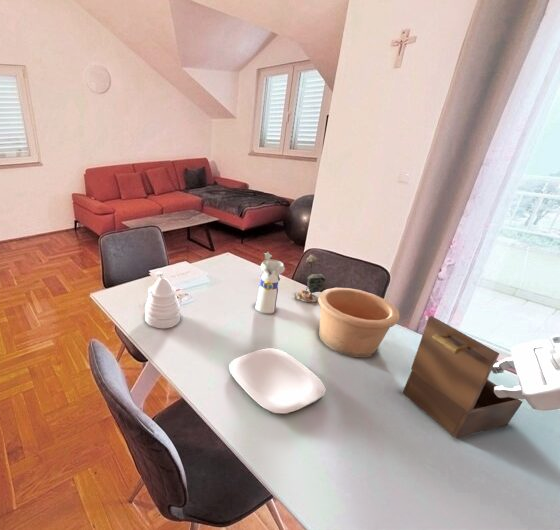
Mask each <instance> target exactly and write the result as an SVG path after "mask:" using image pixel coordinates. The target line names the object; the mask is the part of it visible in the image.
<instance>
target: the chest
mask: <svg viewBox="0 0 560 530" xmlns="http://www.w3.org/2000/svg"><path fill="white" fill-rule="evenodd" d="M499 386H500V385H497V384H495V383H494V382H492V381H491V380H489V378H488V379H487V381H486V383H485V385H484V387H483V389H482V391H481V393H480V395H479V397H478V399H477V401H476V404H475V406H474V408H473V410H472V412H469V413H468V412H467V411H466V410H464V409H463V408H462V407H460V406H459V405H458V404H456V403H455V402H454V401H452V400H451V399H450V398H448V397H447V396H446V395H444V394H443V393H442V392H440V391H439V390H438V389H436V388H435V387H434V386H432V385H431V384H430V383H428V382H427V381H426V380H425V379H423V378H422V377H421V376H419V375H418V374H417V373H415V372H414V371H413V370H411V371H410V374H409V376H408V379H407V380H406V383H405V385H404V387H403V390H402V392H401V393H402V394H403V395H404V396H405V397H406V398H408V399H409V400H410V401H411V402H412V403H413V404H415V406H417V407H418V408H419V409H421V410H422V411H423V412H424V413H425V414H426V415H428V416H429V417H430V418H431V419H432V420H434V422H436V423H437V424H438V425H440V427H441V428H443V429H444V430H445V431H447V432H448V433H449V434H450V435H452V437H454V438H455V439H457V438H461V437H467V436H470V435H474V434H478V433H482V432H486V431H490V430H495V429H498V428H504V427H507V426H508V425H509V423H510V422H511V420H512V419H513V418H514V416H515V414H516V413H517V411H518V410H519V408H520V407H521V405H522V404H523V400H522V399H516V398H511V397H504V398H499V397H497V396H496V394H495V393H494V389H493V388H494V387H499Z"/></svg>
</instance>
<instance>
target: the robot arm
mask: <svg viewBox="0 0 560 530" xmlns="http://www.w3.org/2000/svg"><path fill="white" fill-rule="evenodd" d="M510 354H511V357H505V358H504V359H502V360H500V361H498V362H495V364H494V366H493V368H492V370H491V373H493V374H502V373H505V372H504V371H506V370H509V369H515V373H516V376H517V379H518V384H519V385H516V386H513V388H511V387H504V386H503V385H498V386H499V387H494V388H493V389H494V393H495V394H496V396H497V397H499V398H504V397H511V398H516V399H519V400H525V401H526V402H527V404H528V405H529V406H530V408H532V409H533V410H535V411H541V412H545V411H546V412H547V411H553V410H560V333H558V334H555V335H551V336H550V339H549V338H542V339H535V340H531V341H528V342H523V343H519V344H515V345H514V346H512V347H510Z"/></svg>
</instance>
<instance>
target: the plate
mask: <svg viewBox="0 0 560 530" xmlns="http://www.w3.org/2000/svg"><path fill="white" fill-rule="evenodd" d="M228 369H229V373H230V375H231V376H232V378H233V379H234V381H235V382H236V383H237V384H238V386H240V387H241V389H242V390H243V391H244V392H245V393H246V394H247V395H248V396H249V397H250V398H251V399H252V400H253V401H254V402H255V403H256V404H257V405H258V406H260V407H261V408H262V409H264V410H266V411H268V412H270V413H272V414H276V415H277V414H279V415H286V414H290V413H293V412H297V411H299V410H301V409H303V408H306V407H307V406H309V405H311V404H314V403H315V402H317V401H318V400H319V399H321V398H322V397H324V395H325V393H326V389H327V388H326V387H325V385H324V383H323V381H322V380H321V379H320V377H318V376H317V375H316V374H315V373H314V372H313V371H312V370H310V369H309V368H307V366H305V365H304V364H303V363H301V362H300V361H299V360H298V359H296V358H295V357H294V356H292V355H290V354H289V353H288V352H286V351H283V350H282V349H278V348H273V347H272V348H271V347H266V348H262V349H261V348H260V349H257V350H254V351H252V352H249V353H246V354H243V355H240V356H239V357H236V358H234V359H233V360H232V361H231V362H230V363H229V364H228Z"/></svg>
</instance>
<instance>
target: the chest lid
mask: <svg viewBox="0 0 560 530" xmlns="http://www.w3.org/2000/svg"><path fill="white" fill-rule="evenodd" d="M499 356H500V353H499V352H498V351H496V350H494V349H493V348H490V347H489V346H487V345H485V344H483V343H482V342H479V341H478V340H476V339H474V338H473V337H470V336H469V335H467V334H465V333H463V332H462V331H460V330H459V329H456V328H455V327H452V326H450V325H449V324H448V323H445V322H444V321H442V320H440V319H438V318H436V317H434V316H432V315H429V316H428V318H427V320H426V323H425V327H424V330H423V333H422V336H421V338H420V342H419V344H418V348H417V351H416V354H415V356H414V359H413V361H412V365H411V367H410V370H411V371H412V370H413V371H414V372H415V373H417V374H418V375H419V376H421V377H422V378H423V379H425V380H426V381H427V382H428V383H430V384H431V385H432V386H434V387H435V388H436V389H438V390H439V391H440V392H442V393H443V394H444V395H446V396H447V397H448V398H450V399H451V400H452V401H454V402H455V403H456V404H458V405H459V406H460V407H462V408H463V409H464V410H466V411H467V412H468V413H469V412H472V410H473V408H474V406H475V404H476V401H477V399H478V397H479V395H480V393H481V391H482V389H483V387H484V385H485V383H486V381H487V379H488V380H489V376H490V374H491V373H492V368H493V366H494V364H495V363H497V360H498V358H499Z"/></svg>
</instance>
